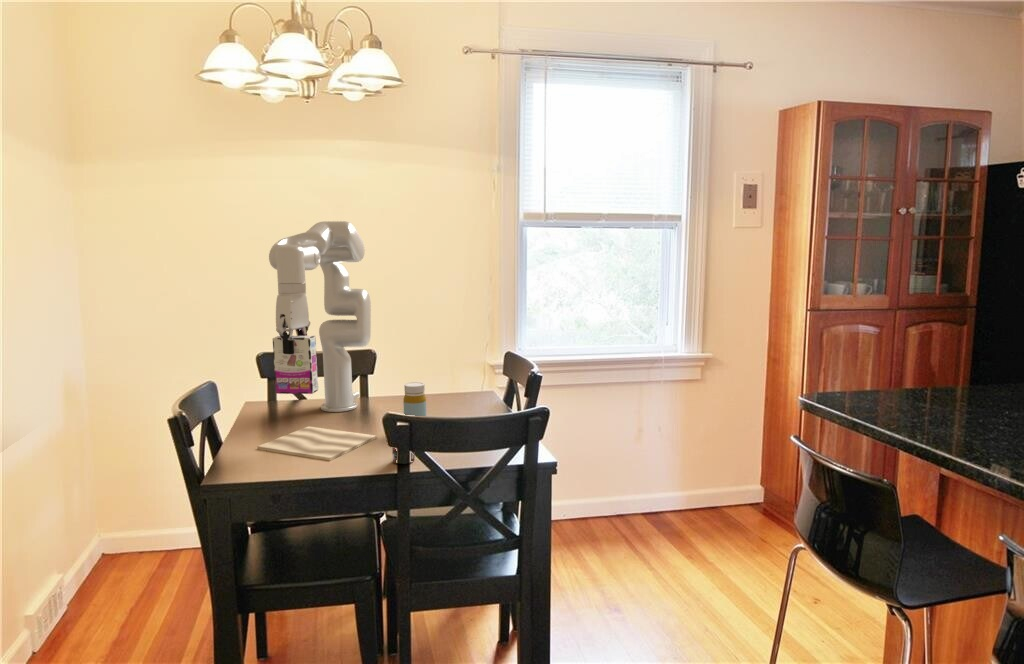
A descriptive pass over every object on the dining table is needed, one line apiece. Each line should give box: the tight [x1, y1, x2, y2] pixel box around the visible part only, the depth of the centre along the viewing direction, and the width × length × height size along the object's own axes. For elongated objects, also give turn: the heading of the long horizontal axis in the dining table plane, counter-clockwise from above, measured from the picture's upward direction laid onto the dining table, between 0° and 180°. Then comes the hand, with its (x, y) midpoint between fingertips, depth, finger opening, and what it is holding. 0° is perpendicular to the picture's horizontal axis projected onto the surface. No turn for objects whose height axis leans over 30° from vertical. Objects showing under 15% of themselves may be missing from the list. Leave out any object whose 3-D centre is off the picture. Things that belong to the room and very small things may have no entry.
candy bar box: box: [272, 335, 319, 395], centre depth 195 cm, size 11×5×16 cm, turn 86°
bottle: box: [403, 381, 427, 416], centre depth 211 cm, size 7×7×15 cm
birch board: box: [256, 426, 378, 461], centre depth 200 cm, size 22×26×1 cm
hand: (295, 351), depth 194 cm, fingers closed on candy bar box, 5 cm apart
